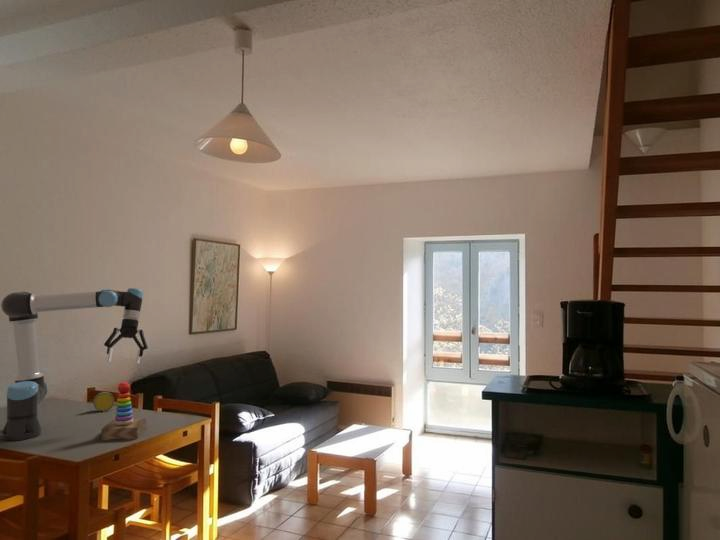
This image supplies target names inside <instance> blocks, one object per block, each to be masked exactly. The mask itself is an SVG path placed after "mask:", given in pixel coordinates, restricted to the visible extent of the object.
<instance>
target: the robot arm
mask: <svg viewBox="0 0 720 540" xmlns="http://www.w3.org/2000/svg"><path fill="white" fill-rule="evenodd" d="M143 297H144V291H143V290H142V289H140V288H135V287H130V288H128V289H127V290H126V291H120V290H114V289H101V290H100V291H84V292H71V293H56V294H54V293H53V294H39V295H36V294H35V293H31V292H28V291H19V292H18V291H17V292H11V293H9V294H7V295H6V296H5V297H4V298H3V299H2V301H1V304H0V306H1V311H2V312H3V313H4V314H5V315H6V316H7V317H8V323H10V324H11V325H12V326H13V334H14V344H15V345H14V347H15V354H16V356H15V357H16V365H17V377H16V378H15V379H14V383H11V384H10V385H9V386H8V387H7V390H6V421H5V424H4V426H3V429H2V431H1V440H3V441H8V440H9V442H10V441H23V440H28V439H29V440H30V439H33V438H36V437H38V436H40V435H42V431H43V430H42V425H41V423H40V420H39V417H38V406H39V405H38V404H40V403H41V402H42V401H43V400H44V399H45V398H46V396H47V394H48V385H47V383H46V382H45V375H44V373H41V372H40V362H39V354H38V353H39V352H38V343H37V341H38V340H37V333H36V321H38V319H39V314H38V313H41V312H56V311H68V310H69V311H70V310H78V309H79V310H81V309H93V308H111V307H113V306H115V307H123V308H124V309H123V315H122V318H123V319H122V320H121V326H120V328H118V327H114V328H113V331H112V332H111V334H110V336H109V337H107V339H106V341H105V342H104V343H103V346H105V347H107V349H106V350H107V351H106V354H107V362H111V361H112V357H113V351H114V348H113V347H114V346H115V345H116V344H117V343H118V342H120V341H121V339H123V338H124V339H127V338H128V339H133V341H134V342H135V344H136V345H137V347H138V348H139V349H138V351H137V356H136V361H135V363H136V364H140V361H141V358H142V357H143V356H144V350H148V349H149V347H148V344H147V341H146V338H145V336H144V332H145V331H144V330H143V329H138V327H139V320H140V314H141V311H142V310H141V309H142V306H143V305H142V304H143ZM119 332H120V333H119ZM118 333H119V335H117V334H118ZM137 334H138V335H139V337H140V341H141V342H140V341H139V339H138V337H137V336H136V335H137ZM116 336H117V337H116ZM115 337H116V338H115Z"/></svg>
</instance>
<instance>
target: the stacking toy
mask: <svg viewBox="0 0 720 540" xmlns="http://www.w3.org/2000/svg"><path fill="white" fill-rule="evenodd" d="M117 389H118V392H119V393H117V399H116V402H117V403H116V407H115V409H116V412H115V417H114V420H115V422H114V423H115V424H116V425H128V424H131V423H133V421H134V420H133V419H134V415H133V412H134V411H133V410H132V409H133V406H132V401H131V392H130V389H131V385H130V383H129V382H127V381H123V382H120V383H119V384H118V386H117Z"/></svg>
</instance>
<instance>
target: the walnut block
mask: <svg viewBox="0 0 720 540" xmlns="http://www.w3.org/2000/svg"><path fill="white" fill-rule="evenodd" d="M133 420H134V421H133V423H131V424H128V425H116V424H115V423H114V422H115V419H112V420H110V421H109V422H108V423H107V424H105V425H104V426H103V427H102V428H101V430H100V431H101V432H100V433H101V436H100V437H101V438H100V439H101V441H109V440H108V439H124V440H138V439H139V438H138V437H139V436H140V437H141V436H142V435H143V433H144V432H145V431H146V430H147V418H135V419H134V418H133ZM105 439H107V440H105Z"/></svg>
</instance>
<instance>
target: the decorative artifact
mask: <svg viewBox="0 0 720 540" xmlns="http://www.w3.org/2000/svg"><path fill="white" fill-rule="evenodd" d="M92 402H93V403H92V404H93V406H94V409H95V410H96V411H98V412H100V411H105V412H108V411H110V410H111V409H112V408H113V406H114V405H115V398H114V396H113V394H111V393H110V392H108V391H102V392H100V393H98V394H96V395H95V396H94V398H93V401H92Z"/></svg>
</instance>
